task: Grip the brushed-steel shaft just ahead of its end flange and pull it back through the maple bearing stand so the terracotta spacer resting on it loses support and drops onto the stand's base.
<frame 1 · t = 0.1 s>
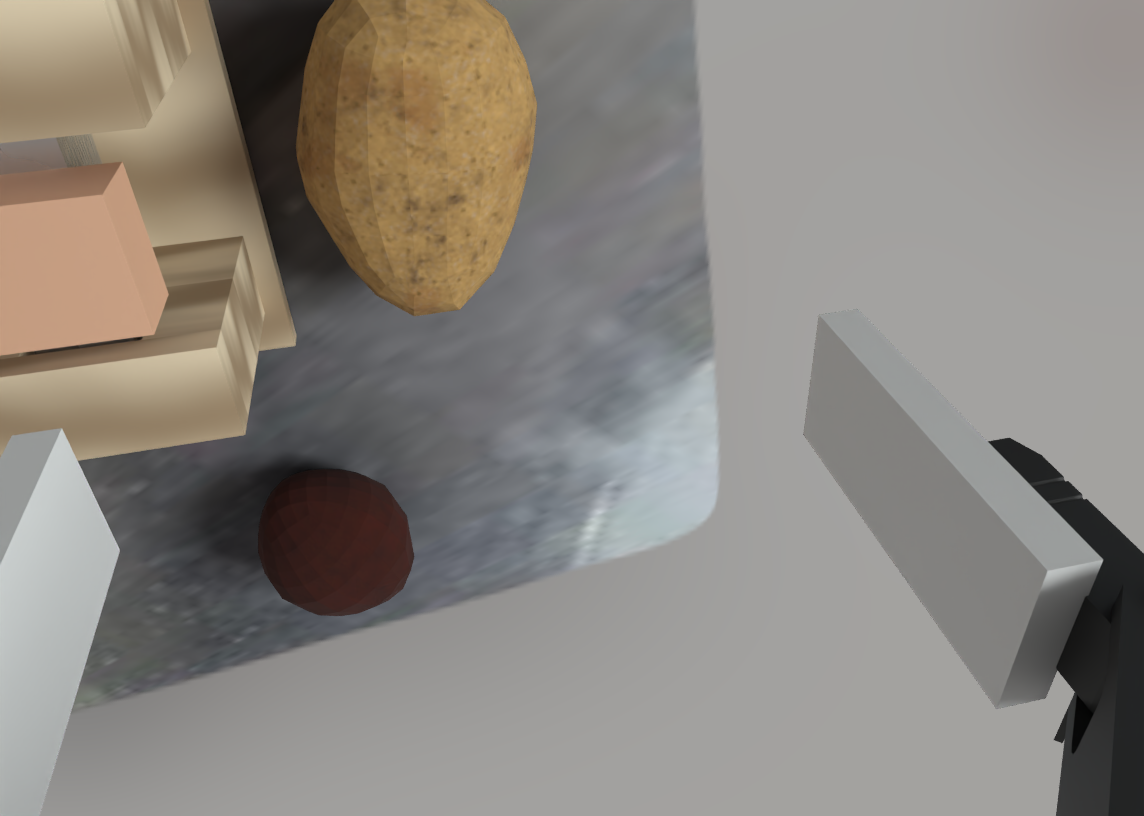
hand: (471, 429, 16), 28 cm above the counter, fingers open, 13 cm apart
shaft: (7, 109, 30), point 7 cm above the counter, slide at 0.0 cm, touching spacer
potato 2: (337, 495, 51), on the counter
potato: (412, 120, 40), on the counter
spacer: (40, 243, 31), point 9 cm above the counter, touching shaft
bearing stand: (101, 155, 38), on the counter
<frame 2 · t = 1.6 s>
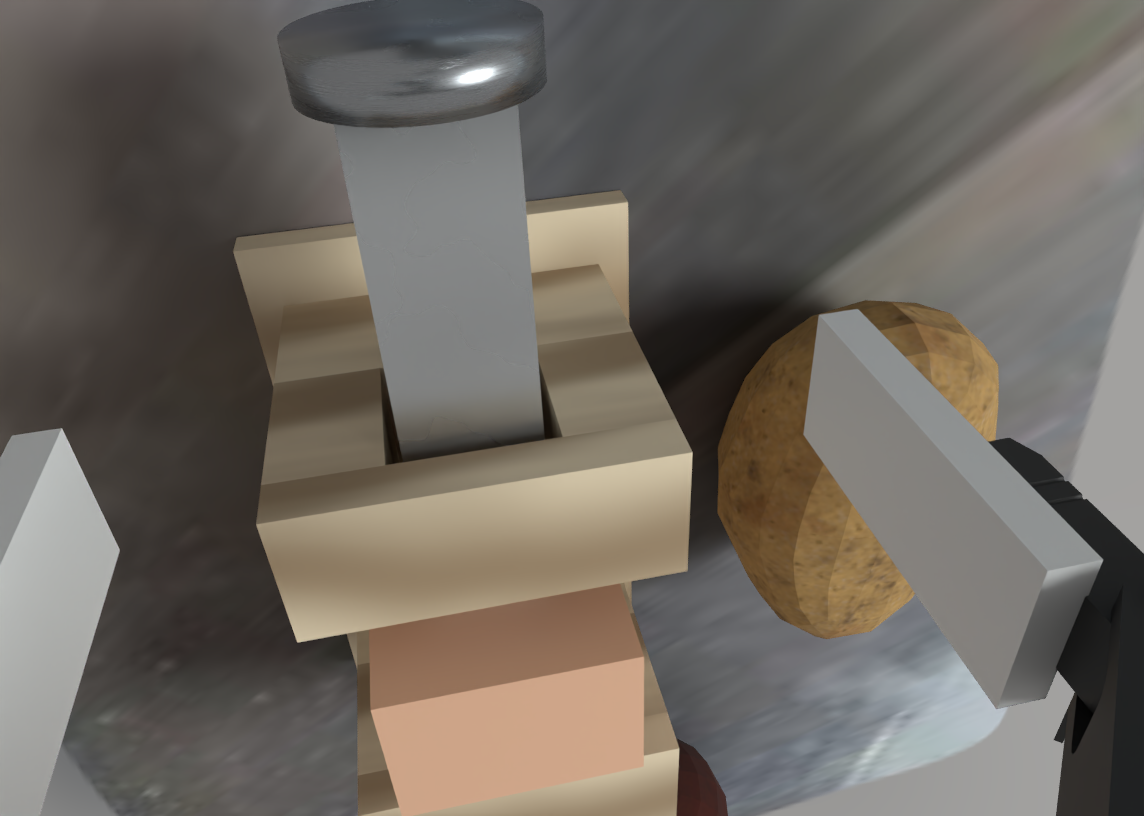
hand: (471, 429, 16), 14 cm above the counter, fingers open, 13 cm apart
shaft: (481, 511, 25), point 7 cm above the counter, slide at 0.0 cm, touching spacer
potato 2: (625, 742, 47), on the counter
potato: (800, 403, 36), on the counter
spacer: (503, 652, 26), point 9 cm above the counter, touching shaft
bearing stand: (470, 459, 34), on the counter
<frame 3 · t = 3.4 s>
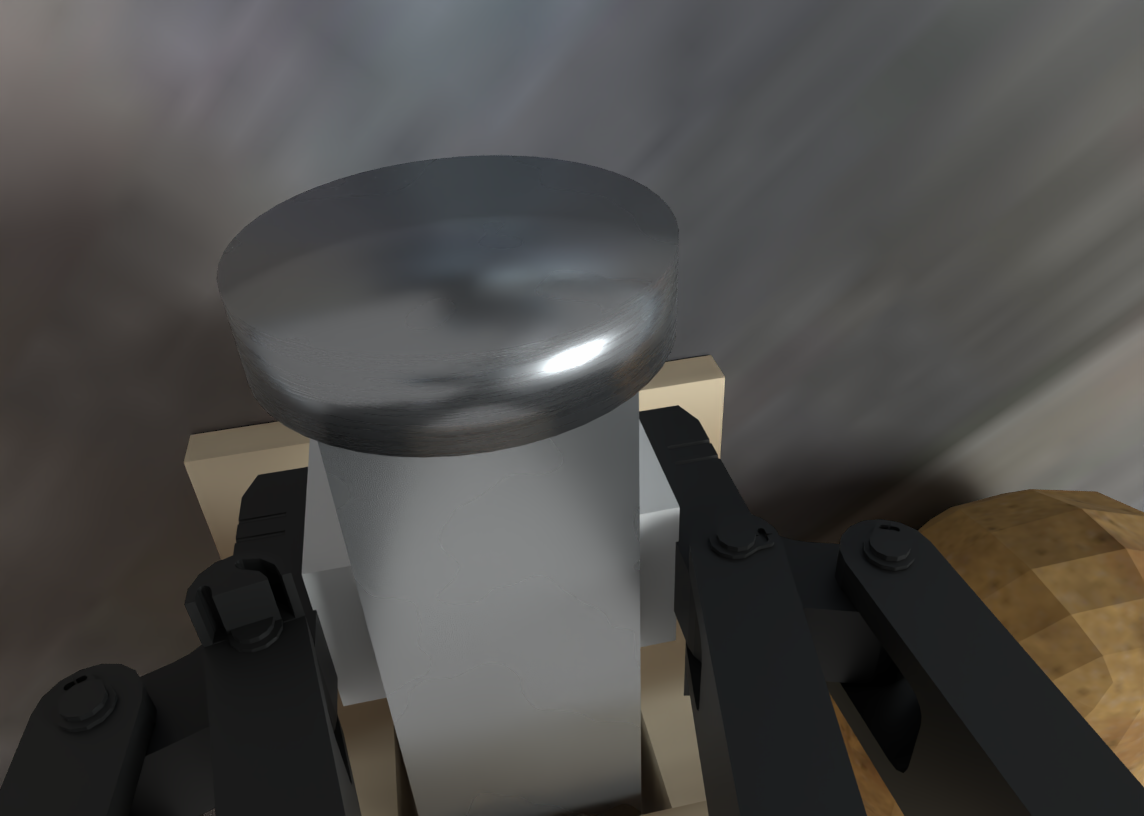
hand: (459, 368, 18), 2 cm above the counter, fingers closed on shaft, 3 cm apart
potato: (916, 584, 28), on the counter
bearing stand: (501, 672, 26), on the counter
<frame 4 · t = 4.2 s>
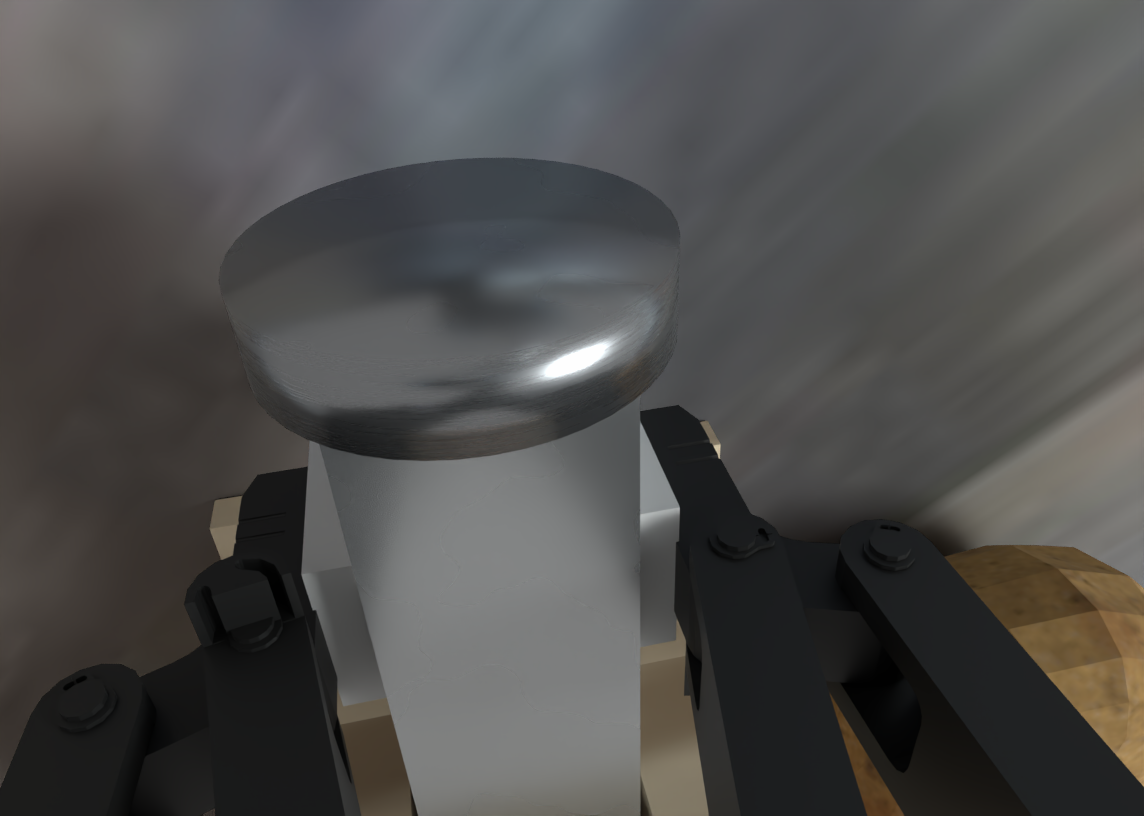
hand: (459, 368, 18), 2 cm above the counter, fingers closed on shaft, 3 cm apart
potato: (904, 625, 29), on the counter
bearing stand: (506, 711, 27), on the counter
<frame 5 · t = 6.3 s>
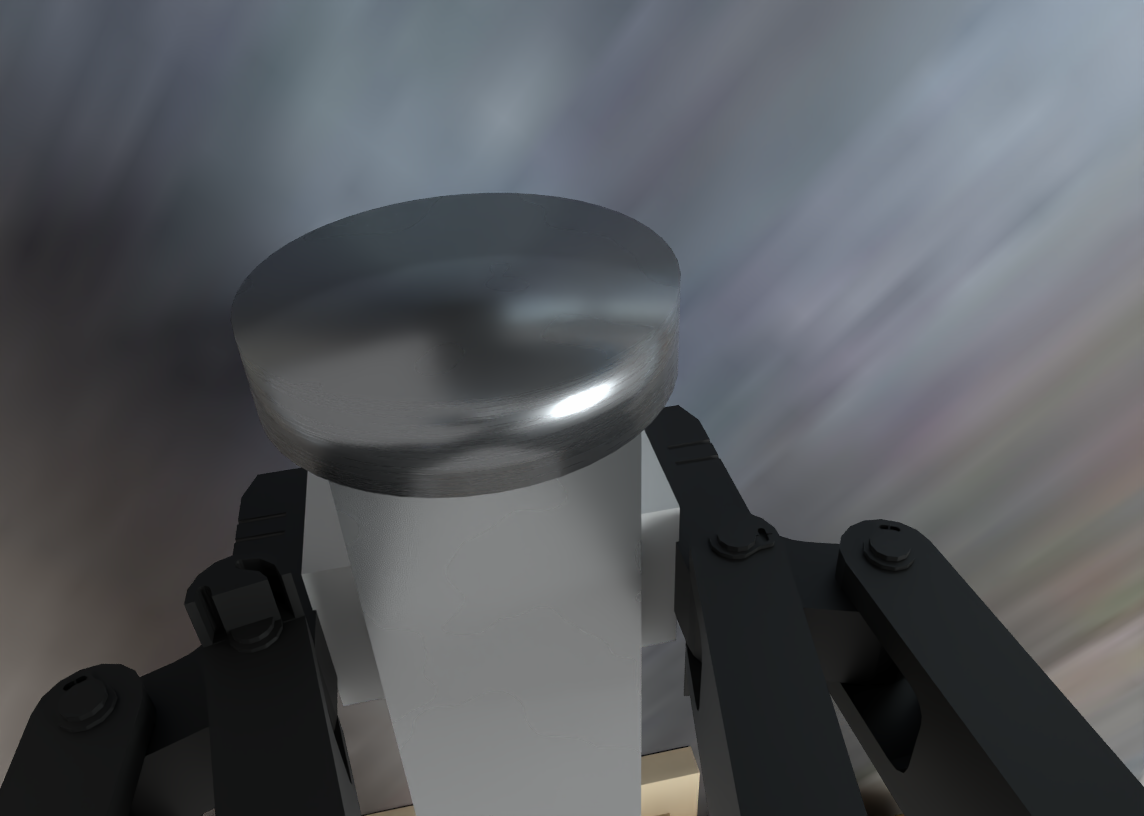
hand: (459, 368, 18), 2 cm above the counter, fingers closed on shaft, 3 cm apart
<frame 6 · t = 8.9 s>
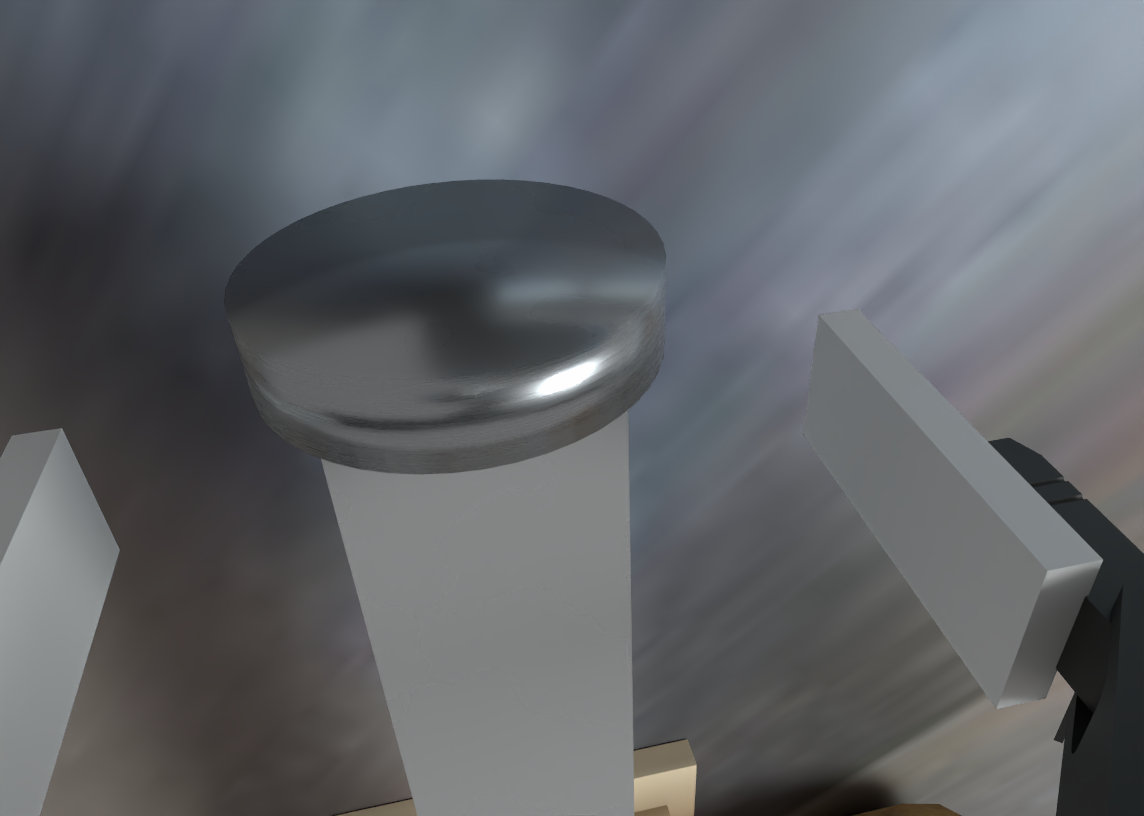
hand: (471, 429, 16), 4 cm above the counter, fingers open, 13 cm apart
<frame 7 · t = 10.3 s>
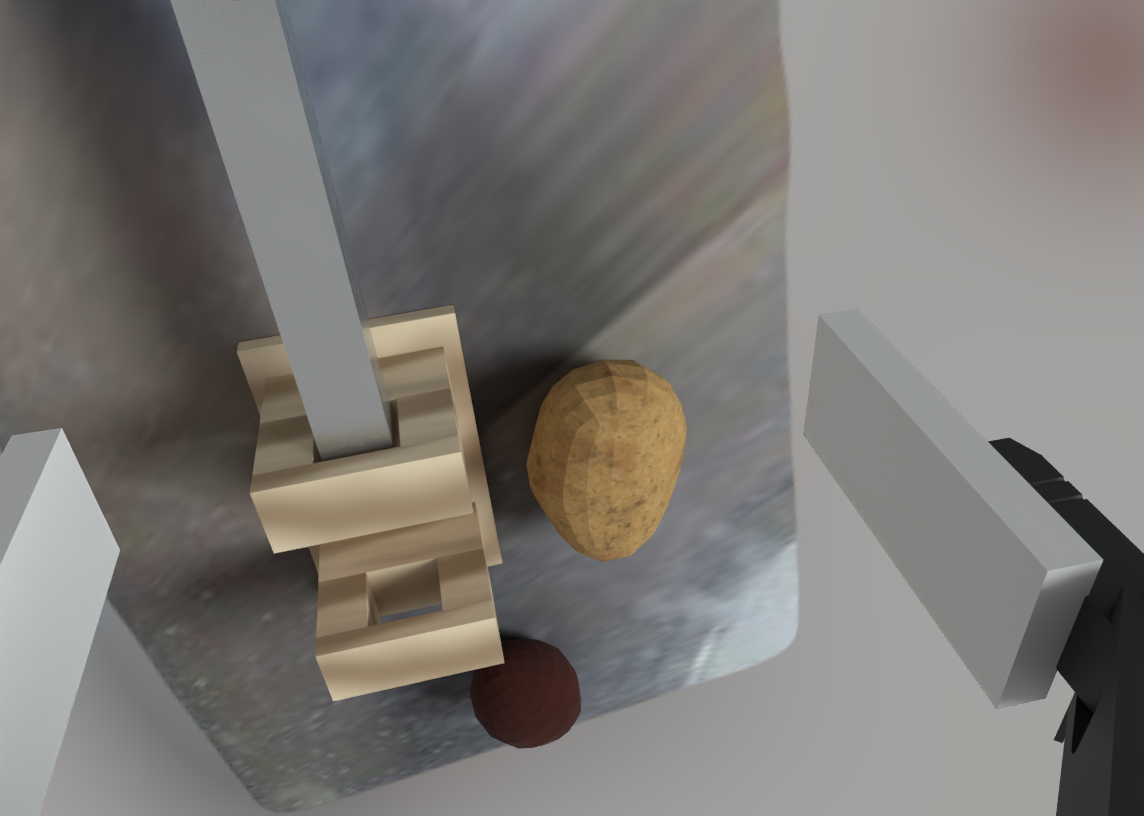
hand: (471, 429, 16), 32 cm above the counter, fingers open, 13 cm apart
shaft: (296, 223, 38), point 8 cm above the counter, slide at 15.2 cm
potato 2: (517, 650, 69), on the counter
potato: (591, 418, 57), on the counter
bearing stand: (384, 460, 56), on the counter
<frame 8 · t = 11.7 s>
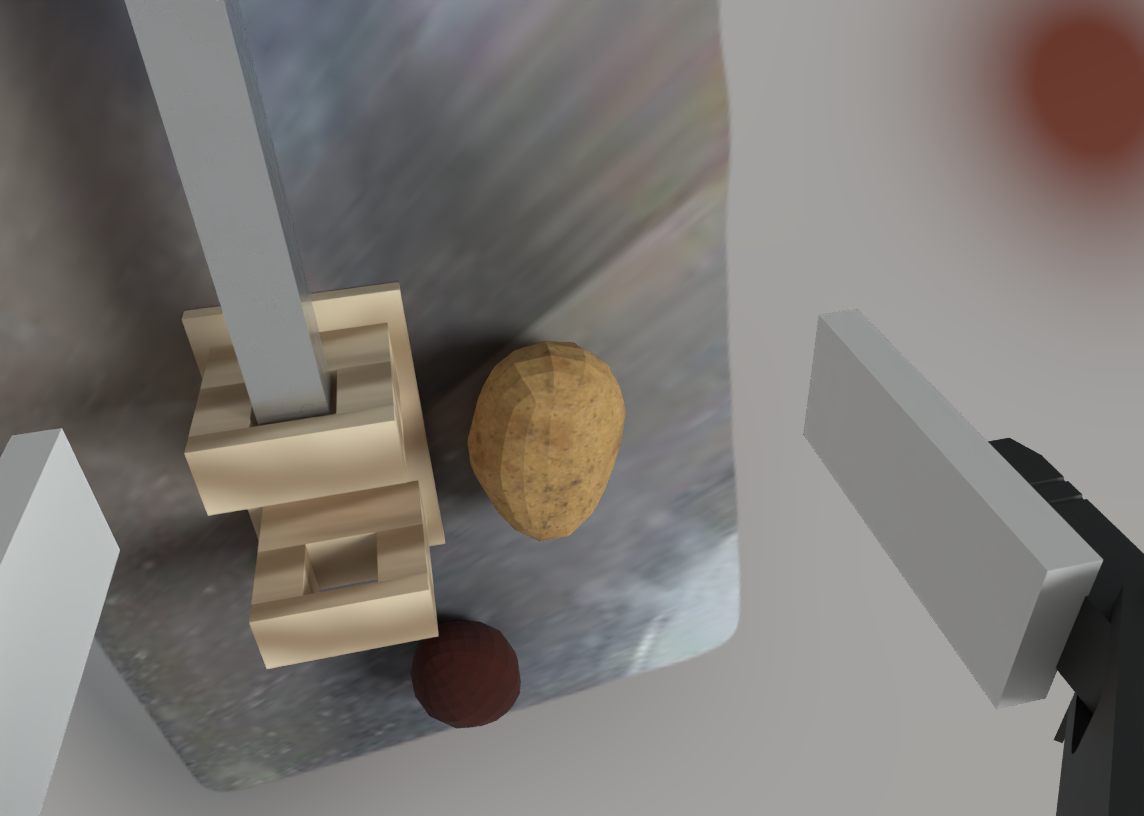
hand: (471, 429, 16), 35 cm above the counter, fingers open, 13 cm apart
shaft: (236, 188, 39), point 8 cm above the counter, slide at 15.2 cm
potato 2: (460, 632, 70), on the counter
potato: (534, 401, 59), on the counter
bearing stand: (329, 435, 57), on the counter
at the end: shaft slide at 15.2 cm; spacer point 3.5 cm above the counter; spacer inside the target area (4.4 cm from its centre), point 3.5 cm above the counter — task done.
